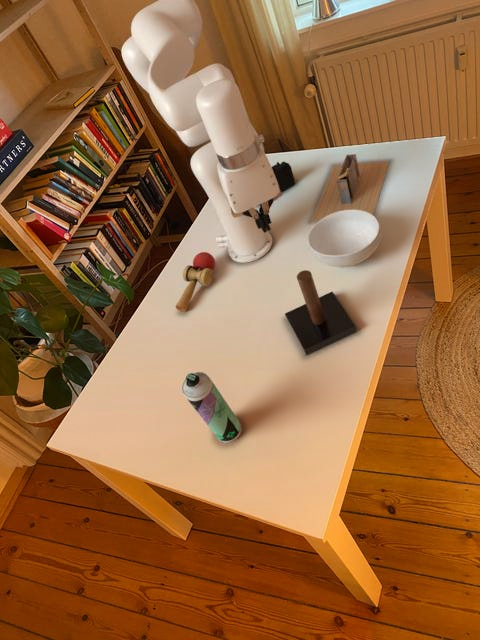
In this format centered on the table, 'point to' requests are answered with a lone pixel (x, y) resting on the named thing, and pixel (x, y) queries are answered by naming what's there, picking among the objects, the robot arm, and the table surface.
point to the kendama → (196, 277)
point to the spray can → (211, 406)
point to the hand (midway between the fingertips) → (265, 227)
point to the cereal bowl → (344, 238)
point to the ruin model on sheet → (352, 187)
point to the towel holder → (318, 317)
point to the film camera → (283, 175)
